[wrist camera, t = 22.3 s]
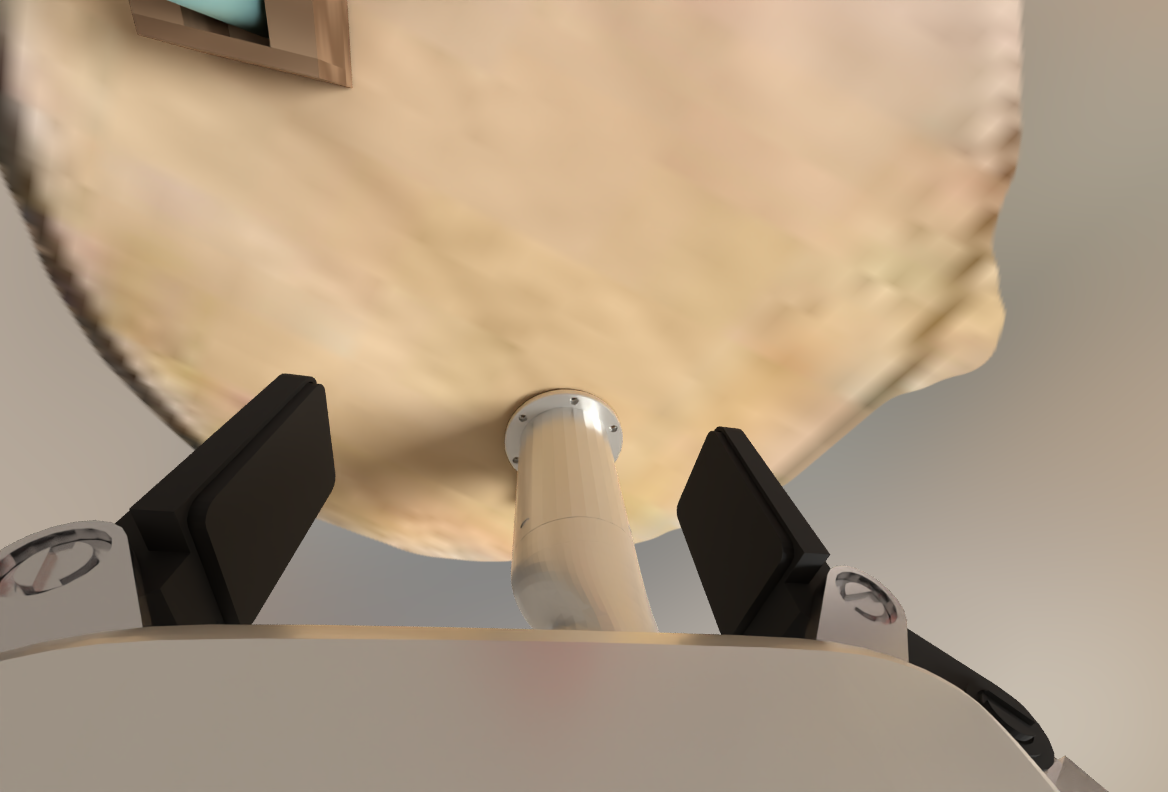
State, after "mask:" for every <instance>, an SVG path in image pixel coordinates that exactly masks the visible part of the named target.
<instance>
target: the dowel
mask: <svg viewBox="0 0 1168 792" xmlns="http://www.w3.org/2000/svg"><path fill="white" fill-rule="evenodd" d="M168 1H171V2H173V3H176V4H178V5H181V6H184V7H186V8H189V9H191V10H194V11H197V12H199V13H202V14H204V15H207V16H210V17H212V18H215V19H217V20H220V21H223V22H225V23H228V24H230V25H233V26H235V27H238V28H241V29H243V30H246V31H248V32H251V33H254V34H256V35H259V36H261V37H264V38H267V39H270V38H269V31H268V24H267V16H266V9H265V1H264V0H168Z"/></svg>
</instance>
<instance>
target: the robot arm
mask: <svg viewBox="0 0 1168 792" xmlns="http://www.w3.org/2000/svg"><path fill="white" fill-rule="evenodd" d="M574 397H575V398H574ZM622 443H623V434H622V429H621V425H620V422H619V420H618V417H617V415H616V414H615V412H614V411H613V410H612V408H611V407H610V406H609V405H608V404H606V403H605V402H604V401H603V400H601V399H600V398H598V397H596V396H594V395H592V394H589V393H586V392H583V391H578V390H564V389H560V390H554V391H548V392H545V393H542V394H539V395H537V396H535V397H533V398H531V399H529V400H528V401H526V402H525V403H524V404H523V405H521V406H520V407H519V408H518V409H517V410H516V412H515V413H514V414H513V415H512V417H511V419H510V421H509V423H508V425H507V429H506V433H505V451H506V454H507V457H508V460H509V461H510V463H511V465H512V466H513V468H514V469H515V470H516V471H517V472H518V474H517V490H516V505H515V520H514V535H513V550H512V566H511V584H512V590H513V594H514V597H515V600H516V603H517V605H518V607H519V609H520V611H521V613H522V615H523V616H524V618H525V619H526V621H527V622H528V624H529V625H530V626H531V627H532V629H498V628H496V629H495V628H454V627H452V628H451V627H402V626H401V627H400V626H399V627H398V626H350V625H251V624H252V623H253V621H254V620H255V618H256V617H257V615H258V613H259V612H260V610H261V608H262V607H263V605H264V603H265V602H266V600H267V598H268V597H269V595H270V593H271V592H272V590H273V588H274V587H275V585H276V583H277V582H278V580H279V578H280V577H281V575H282V573H283V572H284V570H285V568H286V567H287V565H288V563H289V562H290V560H291V558H292V557H293V555H294V553H295V551H296V550H297V548H298V547H299V545H300V543H301V541H302V540H303V538H304V537H305V535H306V533H307V532H308V530H309V528H310V527H311V525H312V523H313V522H314V520H315V518H316V517H317V515H318V513H319V512H320V510H321V508H322V507H323V505H324V503H325V502H326V500H327V498H328V497H329V495H330V493H331V491H332V489H333V487H334V483H335V468H334V459H333V451H332V443H331V435H330V427H329V419H328V411H327V402H326V394H325V389H324V386H323V385H322V384H317V382H316V380H315V378H313V377H310V376H302V375H293V374H281V375H279V376H278V377H277V378H276V379H275V380H274V381H273V382H271V383H270V384H269V385H268V386H267V387H266V388H265V389H264V390H262V391H261V392H260V393H259V394H258V395H257V396H256V397H255V398H253V399H252V400H251V401H250V402H249V403H248V404H247V405H246V406H244V407H243V408H242V409H241V410H240V411H239V412H238V413H237V414H235V415H234V416H233V417H232V418H231V419H230V420H229V421H228V422H226V423H225V424H224V425H223V426H222V427H221V428H220V429H219V430H217V431H216V432H215V433H214V434H213V435H212V436H211V437H210V438H208V439H207V440H206V441H205V442H204V443H203V444H202V445H201V446H199V447H198V448H197V449H196V450H195V451H194V452H193V453H192V454H190V455H189V456H188V457H187V458H186V459H185V460H184V461H183V462H181V463H180V464H179V465H178V466H177V467H176V468H175V469H174V470H172V471H171V472H170V473H169V474H168V475H167V476H166V477H165V478H164V479H162V480H161V481H160V482H159V483H158V484H157V485H156V486H154V487H153V488H152V489H151V490H150V491H149V492H148V493H147V494H146V495H144V496H143V497H142V498H141V499H140V500H139V501H138V502H136V503H135V504H134V505H133V506H132V507H131V508H130V511H129V512H127V513H126V514H125V515H124V516H123V517H122V518H121V519H120V520H118V521H117V522H116V523H115V524H113V523H111V522H104V521H96V520H93V521H81V522H73V523H68V524H64V525H59V526H55V527H51V528H48V529H45V530H42V531H40V532H37V533H34V534H31V535H29V536H26V537H24V538H22V539H20V540H18V541H16V542H14V543H12V544H10V545H8V546H6V547H4V548H3V549H1V550H0V792H1108V791H1107V790H1105V789H1104V788H1103V787H1102V786H1101V785H1100V784H1098V783H1097V782H1096V781H1095V780H1094V779H1092V778H1091V777H1090V776H1089V775H1088V774H1086V773H1085V772H1084V771H1083V770H1082V769H1081V768H1079V767H1078V766H1077V765H1076V764H1075V763H1073V762H1072V761H1071V760H1070V759H1068V758H1067V757H1066V756H1063V757H1062V758H1060V759H1056V758H1055V757H1054V751H1053V749H1052V746H1051V744H1050V741H1049V739H1048V738H1047V736H1046V734H1045V733H1044V731H1043V730H1042V728H1041V727H1040V725H1039V724H1038V723H1037V722H1036V720H1035V719H1034V718H1033V717H1032V716H1031V714H1030V713H1029V712H1028V711H1027V710H1026V708H1025V707H1024V706H1023V705H1021V704H1020V703H1019V702H1018V701H1017V700H1016V699H1014V698H1013V697H1012V696H1010V695H1009V694H1008V693H1006V692H1005V691H1003V690H1002V689H1001V688H999V687H998V686H997V685H995V684H993V683H992V682H990V681H989V680H987V679H986V678H984V677H982V676H981V675H979V674H978V673H976V672H975V671H973V670H972V669H970V668H968V667H967V666H965V665H964V664H962V663H961V662H959V661H957V660H956V659H954V658H953V657H951V656H950V655H948V654H946V653H945V652H943V651H942V650H940V649H939V648H937V647H936V646H934V645H932V644H931V643H929V642H928V641H926V640H925V639H923V638H921V637H920V636H918V635H917V634H915V633H914V632H912V631H910V630H909V629H907V619H906V616H905V612H904V610H903V608H902V606H901V604H900V603H899V601H898V600H897V598H896V597H895V596H894V595H893V594H892V593H891V591H890V590H888V589H887V588H886V587H885V586H884V585H883V584H882V583H881V582H879V581H878V580H877V579H875V578H874V577H872V576H870V575H869V574H867V573H865V572H863V571H861V570H859V569H857V568H853V567H849V566H844V565H843V566H835V567H833V568H831V569H830V567H829V566H828V565H827V563H826V560H827V558H828V557H829V556H830V554H829V552H828V551H827V549H826V548H825V546H824V545H823V544H822V542H821V541H820V539H819V538H818V537H817V535H816V534H815V532H814V531H813V530H812V528H811V527H810V525H809V524H808V523H807V521H806V520H805V518H804V517H803V516H802V514H801V513H800V511H799V510H798V508H797V507H796V506H795V504H794V503H793V501H792V500H791V499H790V497H789V496H788V495H787V493H786V492H785V490H784V489H783V487H782V486H781V484H780V483H779V482H778V480H777V479H776V477H775V476H774V475H773V473H772V472H771V470H770V469H769V468H768V466H767V465H766V463H765V462H764V461H763V459H762V458H761V456H760V455H759V453H758V452H757V451H756V449H755V448H754V446H753V445H752V444H751V442H750V441H749V439H748V438H747V437H746V435H745V434H744V432H743V431H742V430H741V429H736V428H728V427H717V428H716V429H715V430H714V431H710V432H709V433H708V435H707V437H706V439H705V442H704V444H703V446H702V449H701V451H700V453H699V456H698V458H697V460H696V463H695V465H694V467H693V470H692V472H691V474H690V477H689V479H688V481H687V484H686V486H685V488H684V491H683V493H682V495H681V498H680V500H679V502H678V505H677V517H678V520H679V523H680V525H681V528H682V531H683V533H684V536H685V539H686V542H687V544H688V547H689V550H690V552H691V555H692V558H693V560H694V563H695V566H696V569H697V571H698V574H699V577H700V579H701V582H702V585H703V588H704V590H705V593H706V596H707V598H708V601H709V604H710V606H711V609H712V611H713V614H714V617H715V620H716V623H717V625H718V628H719V631H720V633H721V635H719V634H686V633H659V630H658V628H657V625H656V622H655V619H654V616H653V614H652V610H651V607H650V604H649V601H648V597H647V594H646V591H645V587H644V583H643V579H642V576H641V572H640V567H639V563H638V560H637V555H636V551H635V547H634V542H633V538H632V534H631V530H630V525H629V521H628V517H627V513H626V509H625V504H624V500H623V496H622V492H621V487H620V483H619V479H618V475H617V471H616V466H615V461H616V460H617V459H618V456H619V454H620V452H621V448H622Z"/></svg>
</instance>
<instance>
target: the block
mask: <svg viewBox="0 0 1168 792" xmlns="http://www.w3.org/2000/svg"><path fill="white" fill-rule="evenodd" d="M264 1H265V9H266V16H267V24H268V31H269V38H270V39H267V38H264V37H261V36H259V35H256V34H254V33H251V32H248V31H246V30H243V29H241V28H238V27H235V26H233V25H230V24H228V23H225V22H223V21H220V20H217V19H215V18H212V17H210V16H207V15H204V14H202V13H199V12H197V11H194V10H191V9H189V8H186V7H184V6H181V5H178V4H176V3H173V2H171V1H168V0H129V3H130V7H131V11H132V15H133V19H134V23H135V26H136V30H137V34H138V35H141V36H145V37H149V38H152V39H156V40H160V41H163V42H167V43H171V44H174V45H178V46H182V47H185V48H189V49H193V50H196V51H200V52H204V53H208V54H212V55H216V56H220V57H225V58H229V59H233V60H237V61H241V62H245V63H250V64H254V65H258V66H262V67H266V68H271V69H275V70H279V71H283V72H287V73H291V74H296V75H300V76H304V77H308V78H312V79H316V80H321V81H325V82H329V83H333V84H337V85H341V86H346V87H350V88H352V73H351V56H350V39H349V23H348V6H347V0H264Z"/></svg>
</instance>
